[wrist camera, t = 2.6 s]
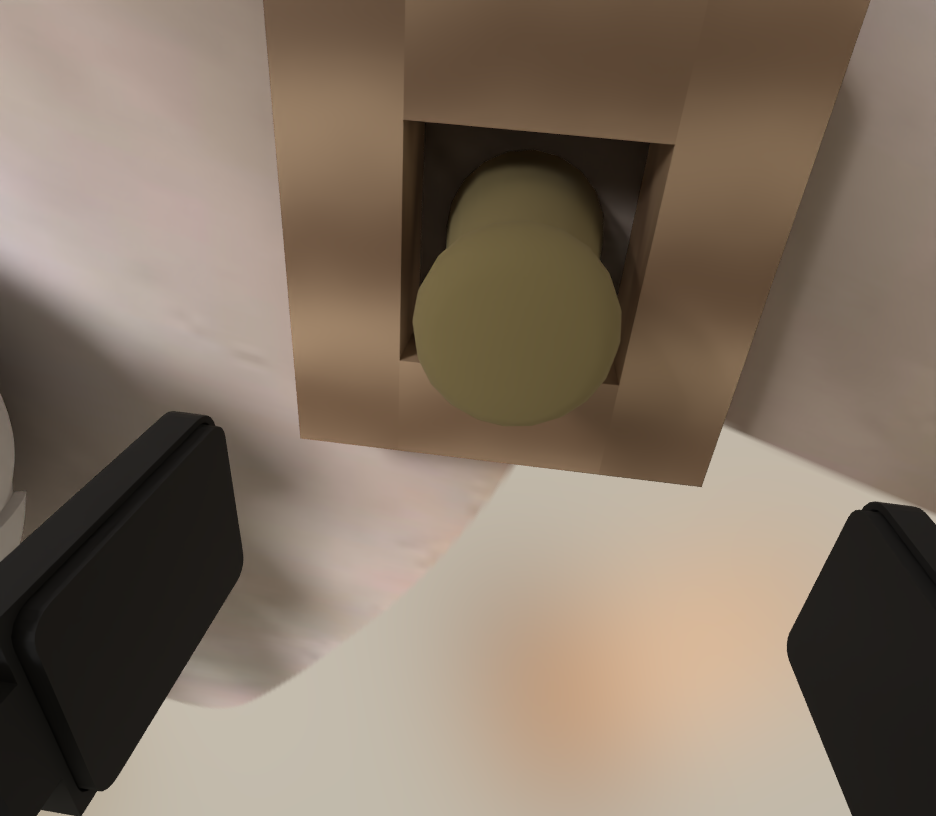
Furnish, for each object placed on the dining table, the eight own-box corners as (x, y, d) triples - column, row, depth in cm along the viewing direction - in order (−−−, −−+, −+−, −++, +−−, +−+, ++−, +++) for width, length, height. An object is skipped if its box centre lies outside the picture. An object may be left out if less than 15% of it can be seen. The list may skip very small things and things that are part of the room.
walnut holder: (308, -39, 19) (257, -60, 16) (812, 0, 19) (874, -12, 15) (330, 390, 28) (300, 438, 24) (681, 431, 27) (701, 487, 23)
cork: (634, 190, 22) (704, 292, 12) (560, 330, 25) (572, 496, 15) (482, 121, 21) (435, 172, 12) (425, 273, 24) (352, 410, 15)
